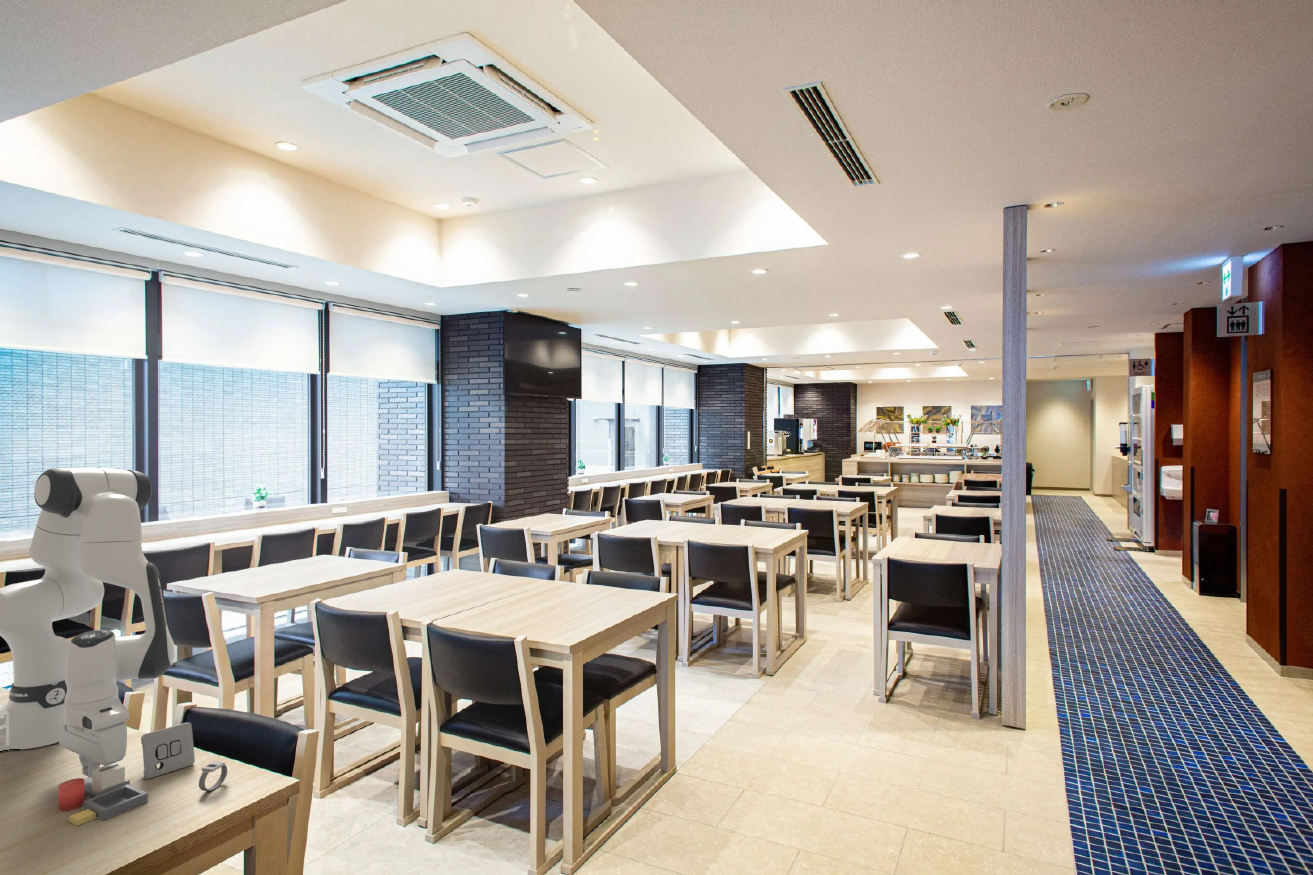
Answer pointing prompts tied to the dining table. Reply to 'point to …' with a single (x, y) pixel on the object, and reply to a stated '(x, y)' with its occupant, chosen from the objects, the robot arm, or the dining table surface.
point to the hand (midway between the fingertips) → (90, 774)
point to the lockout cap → (71, 794)
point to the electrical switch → (167, 750)
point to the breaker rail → (92, 794)
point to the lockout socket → (110, 804)
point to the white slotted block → (107, 776)
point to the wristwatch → (211, 768)
